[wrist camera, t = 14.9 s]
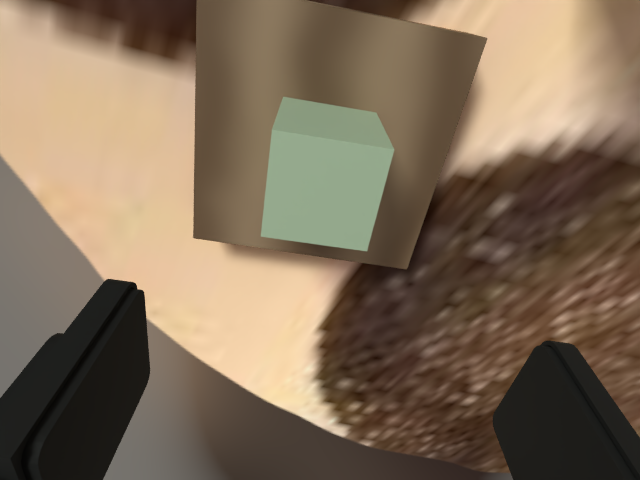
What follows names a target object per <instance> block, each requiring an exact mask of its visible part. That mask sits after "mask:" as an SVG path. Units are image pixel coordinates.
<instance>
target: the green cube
mask: <svg viewBox="0 0 640 480" xmlns="http://www.w3.org/2000/svg"><path fill="white" fill-rule="evenodd" d="M393 153H394V148H393V146H392V144H391V142H390V139H389V137H388V135H387V133H386V131H385V129H384V127H383V125H382V123H381V121H380V119H379V117H378V115H377V113H376V112H370V111H364V110H358V109H353V108H347V107H341V106H335V105H329V104H323V103H317V102H312V101H306V100H300V99H294V98H288V97H283V99H282V102H281V105H280V107H279V110H278V113H277V116H276V119H275V122H274V125H273V128H272V134H271V143H270V153H269V162H268V172H267V181H266V191H265V200H264V210H263V219H262V229H261V237H267V238H274V239H282V240H289V241H296V242H303V243H310V244H317V245H325V246H332V247H339V248H346V249H353V250H360V251H367V249H368V246H369V242H370V238H371V235H372V231H373V227H374V223H375V220H376V216H377V212H378V209H379V205H380V201H381V198H382V194H383V190H384V186H385V183H386V179H387V175H388V172H389V168H390V164H391V160H392V157H393Z"/></svg>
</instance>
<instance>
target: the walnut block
mask: <svg viewBox="0 0 640 480" xmlns="http://www.w3.org/2000/svg"><path fill="white" fill-rule="evenodd" d="M486 41H487V38H485V37H481V36H477V35H473V34H469V33H466V32H461V31H456V30H451V29H446V28H441V27H436V26H431V25H426V24H421V23H416V22H411V21H406V20H401V19H396V18H391V17H386V16H381V15H377V14H372V13H367V12H362V11H357V10H352V9H347V8H342V7H337V6H332V5H327V4H322V3H317V2H312V1H307V0H197V18H196V89H195V160H194V230H193V238H196V239H203V240H210V241H216V242H223V243H230V244H237V245H244V246H250V247H257V248H264V249H271V250H278V251H285V252H291V253H298V254H305V255H312V256H319V257H325V258H332V259H339V260H346V261H353V262H359V263H366V264H373V265H380V266H387V267H394V268H400V269H407V267H408V265H409V262H410V259H411V256H412V253H413V250H414V247H415V244H416V242H417V239H418V236H419V233H420V230H421V227H422V224H423V222H424V219H425V216H426V213H427V210H428V207H429V204H430V201H431V199H432V196H433V193H434V190H435V187H436V184H437V181H438V179H439V176H440V173H441V170H442V167H443V164H444V161H445V158H446V156H447V153H448V150H449V147H450V144H451V141H452V138H453V136H454V133H455V130H456V127H457V124H458V121H459V118H460V115H461V113H462V110H463V107H464V104H465V101H466V98H467V95H468V93H469V90H470V87H471V84H472V81H473V78H474V75H475V72H476V70H477V67H478V64H479V61H480V58H481V55H482V52H483V50H484V47H485V44H486ZM283 97H288V98H294V99H300V100H306V101H312V102H317V103H323V104H329V105H335V106H341V107H347V108H353V109H358V110H364V111H370V112H376V113H377V115H378V117H379V119H380V121H381V123H382V125H383V127H384V129H385V131H386V133H387V135H388V137H389V139H390V142H391V144H392V146H393V148H394V153H393V157H392V160H391V164H390V168H389V172H388V175H387V179H386V183H385V186H384V190H383V194H382V198H381V201H380V205H379V209H378V212H377V216H376V220H375V223H374V227H373V231H372V235H371V238H370V242H369V246H368V249H367V251H360V250H353V249H346V248H339V247H332V246H325V245H317V244H310V243H303V242H296V241H289V240H282V239H274V238H267V237H261V229H262V219H263V210H264V200H265V191H266V181H267V172H268V162H269V153H270V143H271V134H272V128H273V125H274V122H275V119H276V116H277V113H278V110H279V107H280V105H281V102H282V99H283Z"/></svg>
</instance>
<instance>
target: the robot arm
mask: <svg viewBox="0 0 640 480" xmlns="http://www.w3.org/2000/svg"><path fill="white" fill-rule="evenodd" d="M149 374H150V362H149V349H148V336H147V323H146V309H145V296H144V292H143V290H138V289H137V285H136V284H135V283H134V282H127V281H120V280H113V279H107V280H106V281H105V282H104V283H103V284H102V285H101V286H100V288H99V289H98V290H97V291H96V293H95V294H94V295H93V297H92V298H91V299H90V300H89V302H88V303H87V304H86V306H85V307H84V308H83V309H82V311H81V312H80V313H79V315H78V316H77V317H76V319H75V320H74V321H73V322H72V324H71V325H70V326H69V327H68V329H67V330H66V331H65V333H64V334H62V333H57V334H55V335H53V336H52V337H51V338H49V339H48V340H47V341H46V342H45V344H44V345H43V346H42V347H41V349H40V350H39V351H38V352H37V354H36V355H35V356H34V357H33V358H32V360H31V361H30V362H29V363H28V365H27V366H26V367H25V368H24V370H23V371H22V372H21V374H20V375H19V376H18V377H17V378H16V380H15V381H14V382H13V383H12V384H11V386H10V387H9V388H8V390H7V391H6V392H5V393H4V394H3V396H2V397H1V398H0V480H103V478H104V476H105V474H106V472H107V470H108V467H109V465H110V463H111V461H112V459H113V457H114V454H115V452H116V450H117V448H118V446H119V444H120V442H121V439H122V437H123V435H124V433H125V431H126V429H127V427H128V424H129V422H130V420H131V418H132V416H133V414H134V411H135V409H136V407H137V405H138V403H139V401H140V398H141V396H142V394H143V392H144V390H145V387H146V385H147V383H148V380H149ZM493 427H494V430H495V433H496V435H497V438H498V441H499V443H500V446H501V448H502V451H503V454H504V456H505V459H506V462H507V464H508V467H509V470H510V472H511V475H512V477H513V480H640V438H639V436H638V435H637V433H636V432H635V430H634V429H633V428H632V426H631V425H630V423H629V422H628V420H627V419H626V418H625V416H624V415H623V413H622V412H621V410H620V409H619V408H618V406H617V405H616V403H615V402H614V400H613V399H612V398H611V396H610V395H609V393H608V392H607V390H606V389H605V388H604V386H603V385H602V383H601V382H600V380H599V379H598V378H597V376H596V375H595V373H594V372H593V370H592V369H591V368H590V366H589V365H588V363H587V362H586V360H585V359H584V358H583V356H582V355H581V353H580V352H579V350H578V349H577V348H576V347H575V346H574V345H572V344H569V343H562V342H555V341H545V342H543V343H542V344H541V345H540V346H536V347H535V348H534V350H533V351H532V353H531V355H530V356H529V358H528V359H527V361H526V363H525V364H524V366H523V367H522V369H521V371H520V372H519V374H518V375H517V377H516V379H515V380H514V382H513V383H512V385H511V387H510V388H509V390H508V391H507V393H506V395H505V396H504V398H503V399H502V401H501V403H500V404H499V406H498V408H497V409H496V411H495V412H494V415H493Z"/></svg>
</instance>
